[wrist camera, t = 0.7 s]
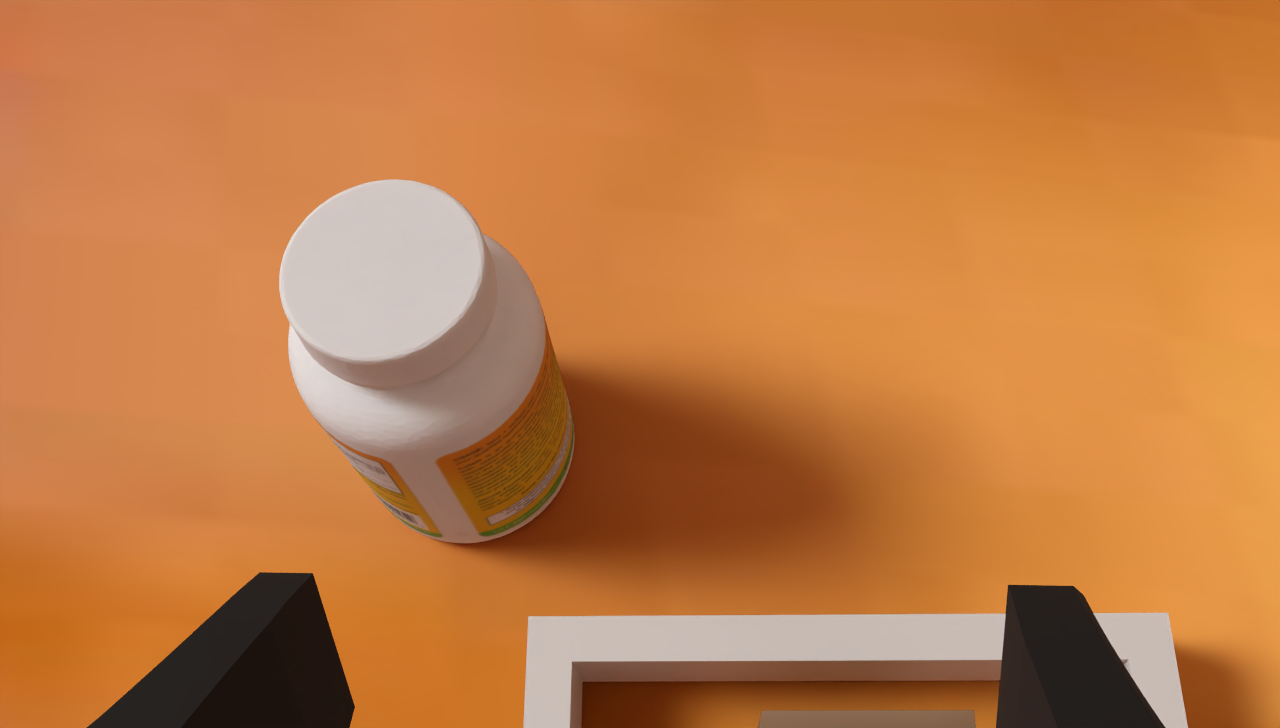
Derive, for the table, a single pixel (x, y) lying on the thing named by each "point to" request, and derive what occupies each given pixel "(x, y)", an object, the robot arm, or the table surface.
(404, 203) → the supplement bottle
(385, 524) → the table surface
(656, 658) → the white rectangular frame
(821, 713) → the labelled walnut box
